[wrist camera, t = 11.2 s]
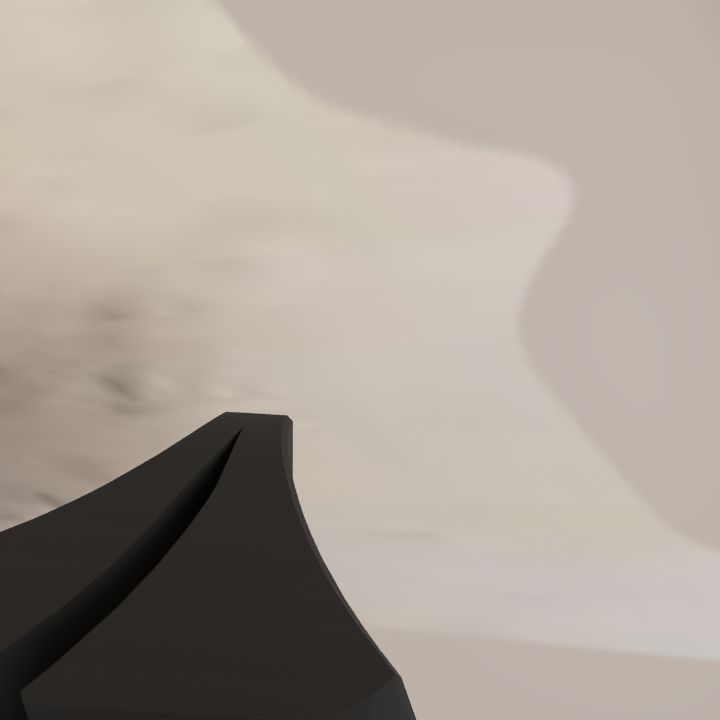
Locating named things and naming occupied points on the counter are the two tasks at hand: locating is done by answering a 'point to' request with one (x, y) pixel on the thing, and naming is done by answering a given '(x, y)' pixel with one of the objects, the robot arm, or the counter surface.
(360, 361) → the counter surface
